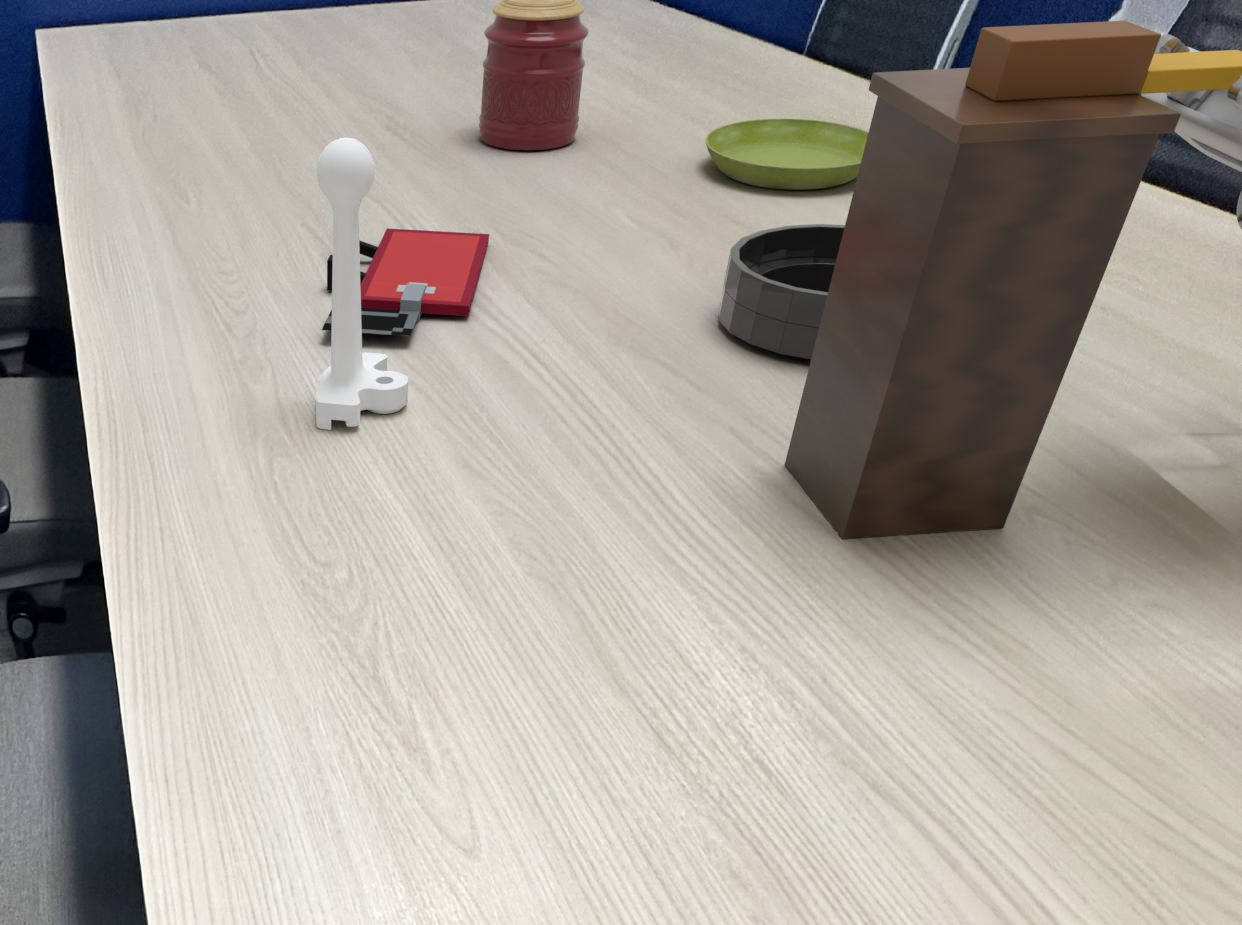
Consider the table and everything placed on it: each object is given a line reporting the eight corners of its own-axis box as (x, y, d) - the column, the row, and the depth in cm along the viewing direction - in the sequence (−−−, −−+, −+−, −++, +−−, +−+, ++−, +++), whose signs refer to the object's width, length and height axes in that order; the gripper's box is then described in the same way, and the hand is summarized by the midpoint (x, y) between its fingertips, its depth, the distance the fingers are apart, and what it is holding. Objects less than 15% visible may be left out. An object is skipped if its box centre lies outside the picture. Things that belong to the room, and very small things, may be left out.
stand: (935, 452, 100) (1068, 62, 82) (1013, 531, 91) (1182, 113, 72) (775, 462, 100) (872, 72, 81) (838, 543, 90) (962, 124, 72)
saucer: (687, 149, 161) (692, 119, 159) (851, 146, 160) (858, 116, 158) (717, 198, 147) (723, 167, 144) (897, 195, 146) (906, 164, 144)
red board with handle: (301, 339, 119) (460, 349, 117) (301, 307, 117) (462, 318, 115) (352, 240, 140) (488, 248, 138) (353, 212, 138) (490, 219, 136)
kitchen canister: (466, 130, 170) (475, -33, 158) (558, 122, 172) (574, -39, 159) (493, 156, 161) (505, -14, 149) (590, 148, 163) (610, -22, 150)
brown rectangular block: (1228, 72, 79) (1252, 13, 77) (1267, 87, 76) (1294, 27, 74) (964, 85, 78) (981, 27, 76) (994, 101, 75) (1012, 41, 73)
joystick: (338, 375, 114) (335, 118, 99) (420, 382, 112) (429, 122, 98) (305, 427, 106) (296, 157, 92) (392, 435, 105) (397, 162, 90)
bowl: (883, 285, 126) (902, 219, 122) (972, 361, 112) (996, 290, 108) (691, 296, 125) (703, 230, 121) (757, 374, 111) (773, 303, 107)
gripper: (1270, 91, 87) (1148, -24, 82) (1488, 177, 73) (1358, 43, 68) (1189, 182, 91) (1067, 77, 86) (1381, 280, 77) (1250, 162, 71)
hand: (1197, 63), depth 77 cm, fingers open, 8 cm apart
